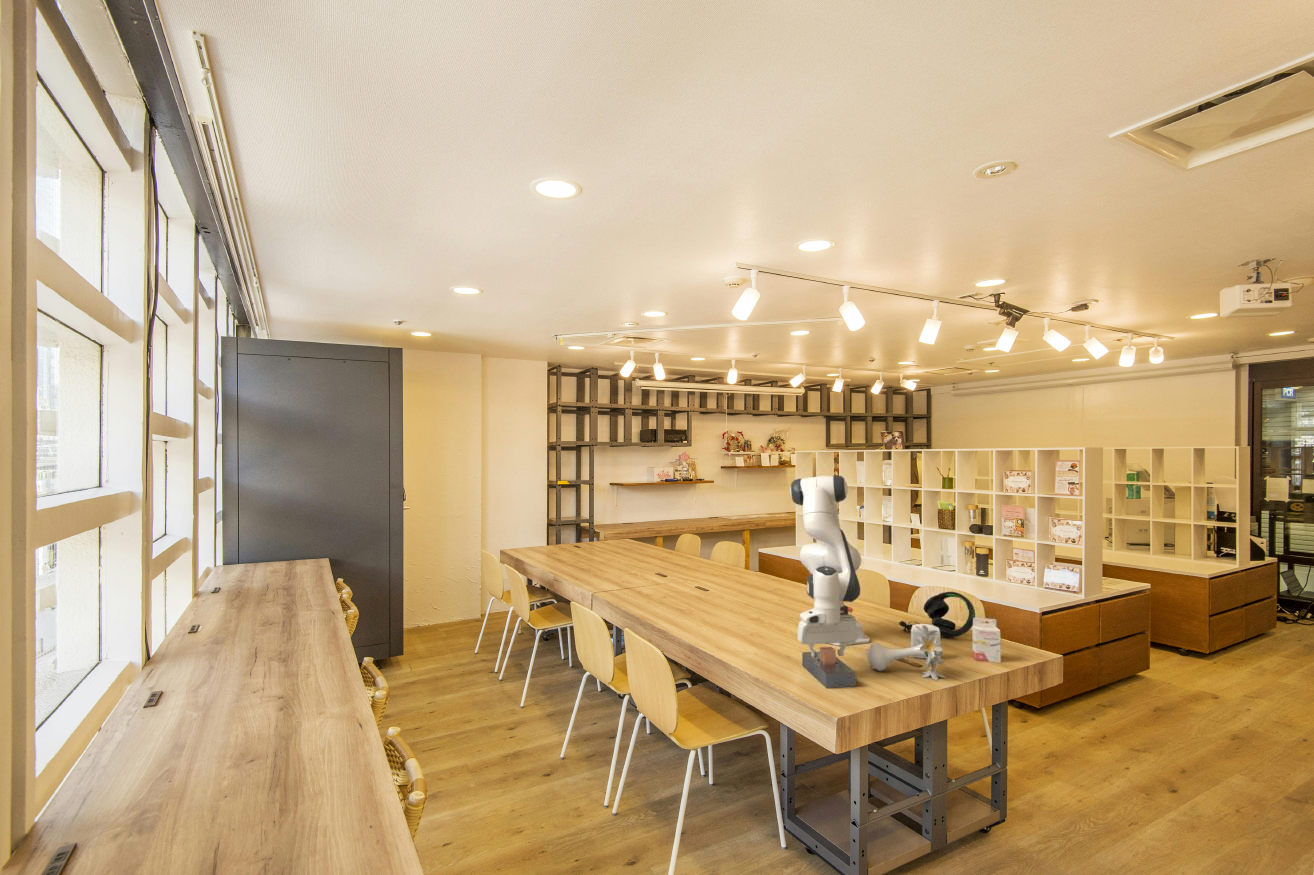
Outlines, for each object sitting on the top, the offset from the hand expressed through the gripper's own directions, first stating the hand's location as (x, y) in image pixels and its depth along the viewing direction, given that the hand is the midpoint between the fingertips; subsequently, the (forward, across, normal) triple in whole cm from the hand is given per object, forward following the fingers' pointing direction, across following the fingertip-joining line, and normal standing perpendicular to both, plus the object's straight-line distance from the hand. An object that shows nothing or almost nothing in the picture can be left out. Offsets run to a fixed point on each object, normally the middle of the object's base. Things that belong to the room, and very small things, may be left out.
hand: (827, 655), depth 212 cm
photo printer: (+7, -44, -14) cm, 47 cm away
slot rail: (+7, 0, 0) cm, 7 cm away
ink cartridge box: (+7, -65, -9) cm, 66 cm away
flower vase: (+7, -28, +1) cm, 29 cm away
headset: (+7, -64, -40) cm, 76 cm away
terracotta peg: (+6, 0, 0) cm, 6 cm away
